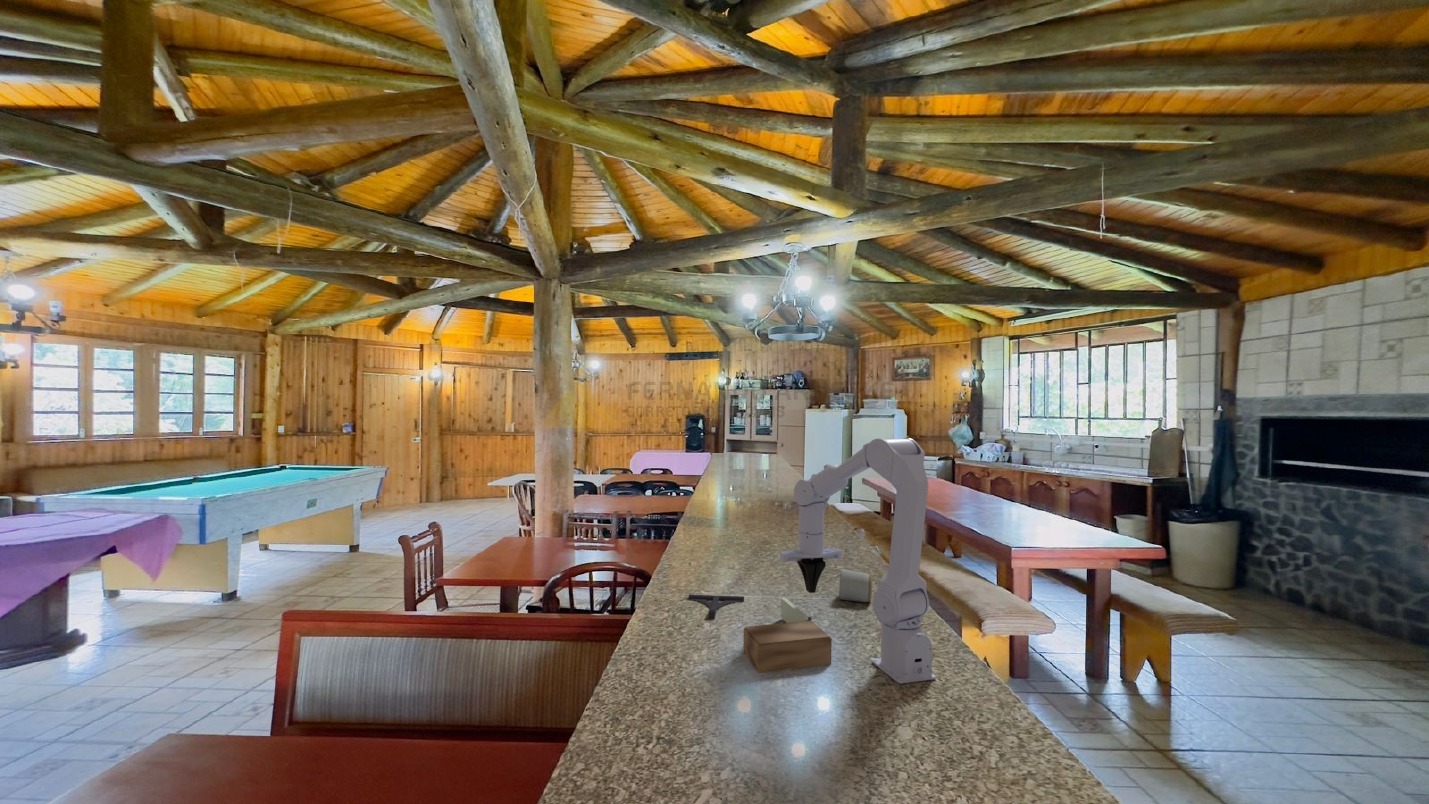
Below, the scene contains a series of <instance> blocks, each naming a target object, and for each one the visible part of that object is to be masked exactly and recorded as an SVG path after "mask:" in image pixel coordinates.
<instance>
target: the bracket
mask: <svg viewBox="0 0 1429 804" xmlns="http://www.w3.org/2000/svg"><path fill="white" fill-rule="evenodd" d="M689 599H690V601H692V600H693V601H692V602H696V601H697V603H700V602H701V603H700V604H702V603H703V605H705V606H706V607H708V609H709V611H708V620H711V619H713V620H715V619H716V614H717V611H718V610H719V609H720V608H722V607H724V606H727V605H731V603H733V604H736V603H735V602H740V603H744V602H745V596H743V595H742V596H740V595H739V596H738V595H715V594H714V595H712V594H708V595H707V594H688V600H689ZM710 600H713V601H710Z"/></svg>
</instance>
